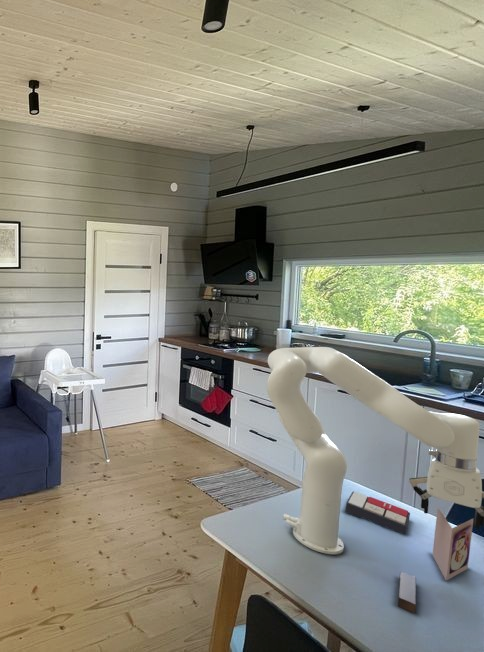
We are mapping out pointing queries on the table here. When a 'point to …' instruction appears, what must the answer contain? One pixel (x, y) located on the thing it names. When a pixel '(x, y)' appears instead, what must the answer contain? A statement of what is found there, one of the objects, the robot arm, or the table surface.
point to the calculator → (378, 512)
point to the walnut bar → (407, 592)
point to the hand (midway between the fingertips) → (450, 518)
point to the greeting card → (451, 546)
